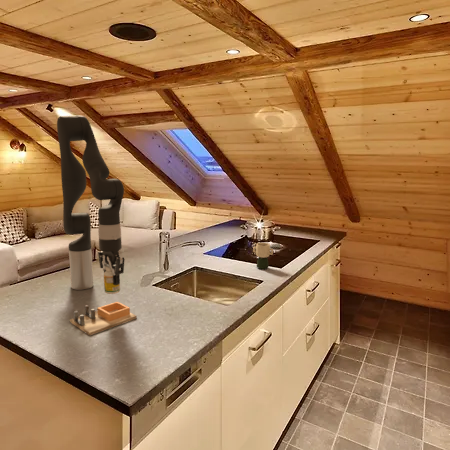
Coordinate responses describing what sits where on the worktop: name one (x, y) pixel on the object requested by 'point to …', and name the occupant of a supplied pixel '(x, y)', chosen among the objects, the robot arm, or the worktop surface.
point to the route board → (101, 322)
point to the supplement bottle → (110, 281)
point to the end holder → (121, 312)
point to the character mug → (262, 254)
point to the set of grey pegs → (81, 321)
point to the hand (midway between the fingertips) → (112, 282)
